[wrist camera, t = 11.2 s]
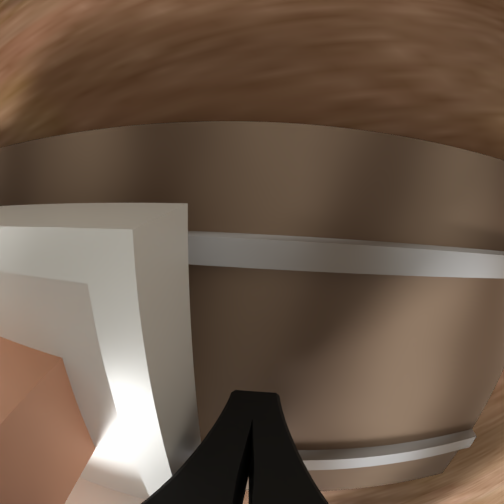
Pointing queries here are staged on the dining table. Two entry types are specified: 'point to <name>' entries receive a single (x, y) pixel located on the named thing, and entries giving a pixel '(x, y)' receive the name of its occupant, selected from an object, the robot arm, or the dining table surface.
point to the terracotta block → (38, 428)
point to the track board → (317, 275)
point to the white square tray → (109, 331)
